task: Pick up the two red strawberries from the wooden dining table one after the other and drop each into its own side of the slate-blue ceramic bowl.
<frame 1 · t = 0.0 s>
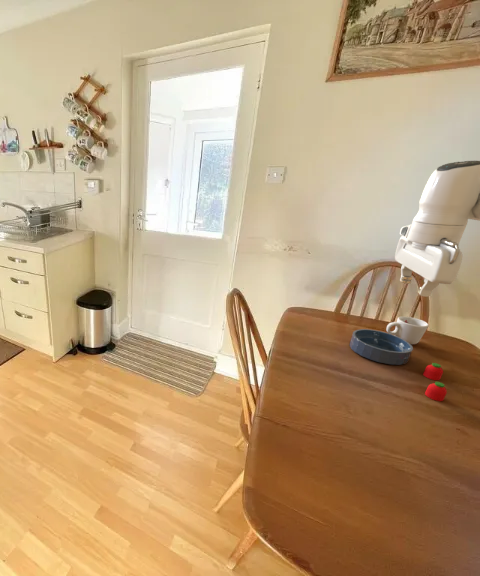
hand: (413, 288, 79), 31 cm above the table, tool pointing down, fingers open, 8 cm apart
strawberry 1: (433, 396, 86), on the table
cup: (400, 340, 114), on the table
bowl: (376, 352, 106), on the table
strawberry 2: (431, 376, 94), on the table
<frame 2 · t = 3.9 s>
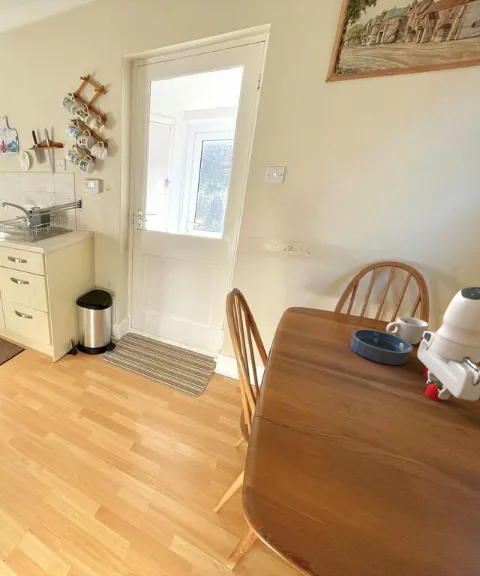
hand: (436, 391, 85), 2 cm above the table, tool pointing down, fingers closed on strawberry 1, 3 cm apart
strawberry 1: (433, 396, 86), on the table, touching gripper
everything else where it was.
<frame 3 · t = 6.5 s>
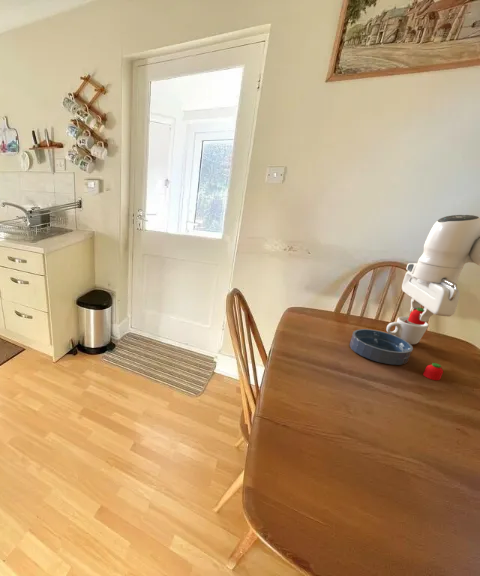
hand: (418, 316, 94), 17 cm above the table, tool pointing down, fingers closed on strawberry 1, 3 cm apart
strawberry 1: (416, 321, 94), point 15 cm above the table, touching gripper
everything else where it was.
when the fingers open (8 cm above the table, at t = 9.5 s): strawberry 1 drops 6 cm, resting on bowl.
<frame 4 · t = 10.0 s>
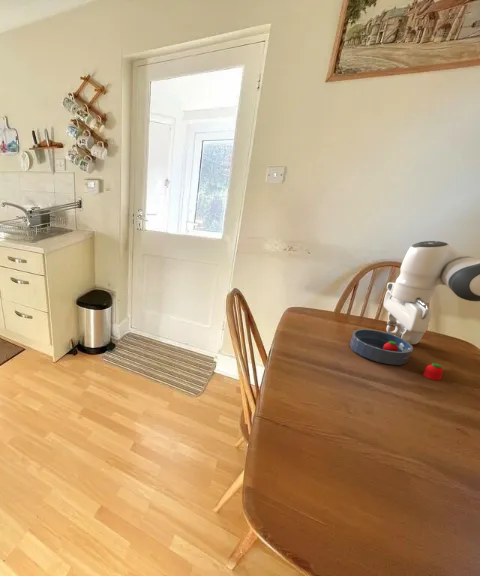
hand: (397, 332, 102), 9 cm above the table, tool pointing down, fingers open, 8 cm apart
strawberry 1: (388, 353, 105), resting on bowl
everything else where it was.
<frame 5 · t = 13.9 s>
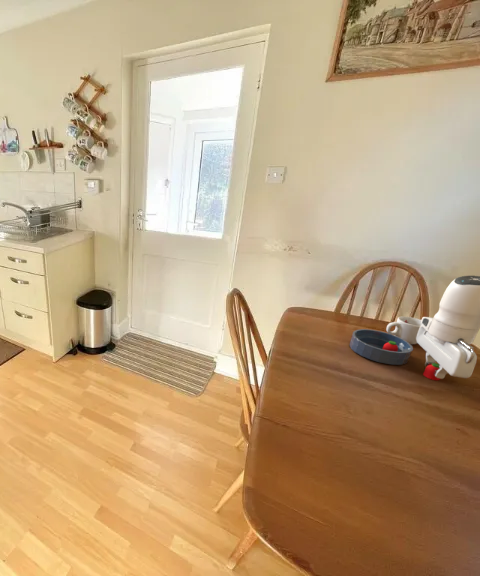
hand: (433, 371, 93), 2 cm above the table, tool pointing down, fingers closed on strawberry 2, 3 cm apart
strawberry 2: (431, 376, 94), on the table, touching gripper
everything else where it was.
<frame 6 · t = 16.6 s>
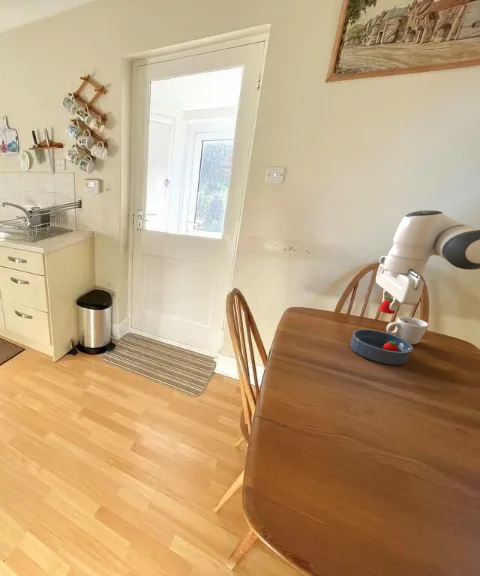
hand: (388, 306, 99), 18 cm above the table, tool pointing down, fingers closed on strawberry 2, 3 cm apart
strawberry 2: (386, 311, 100), point 16 cm above the table, touching gripper
everything else where it was.
when the fingers open (8 cm above the table, at t = 19.2 s): strawberry 2 drops 6 cm, resting on bowl.
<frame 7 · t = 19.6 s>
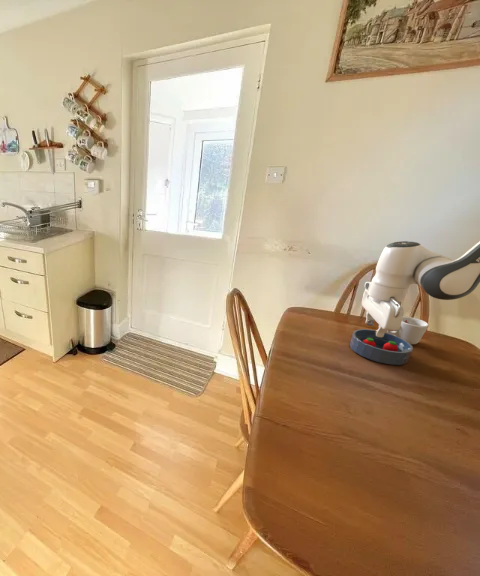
hand: (373, 330, 104), 8 cm above the table, tool pointing down, fingers open, 7 cm apart
strawberry 2: (366, 349, 107), resting on bowl
everything else where it was.
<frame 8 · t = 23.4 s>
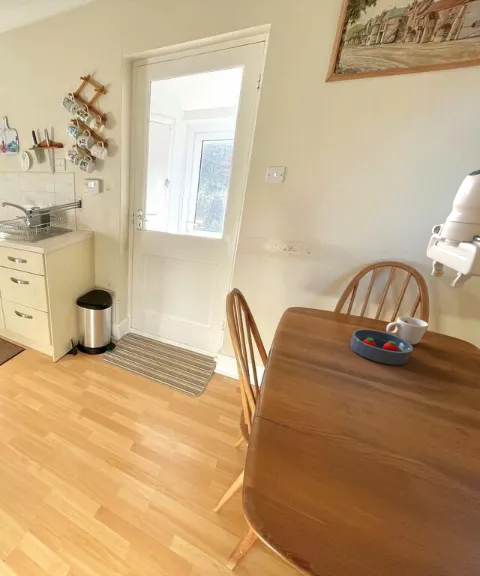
hand: (445, 281, 88), 29 cm above the table, tool pointing down, fingers open, 8 cm apart
nothing on the table moved.
at the end: strawberry 1 inside the target area in the bowl (3.0 cm from its centre), point 0.5 cm above the bowl's base; strawberry 2 inside the target area in the bowl (3.0 cm from its centre), point 0.5 cm above the bowl's base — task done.
